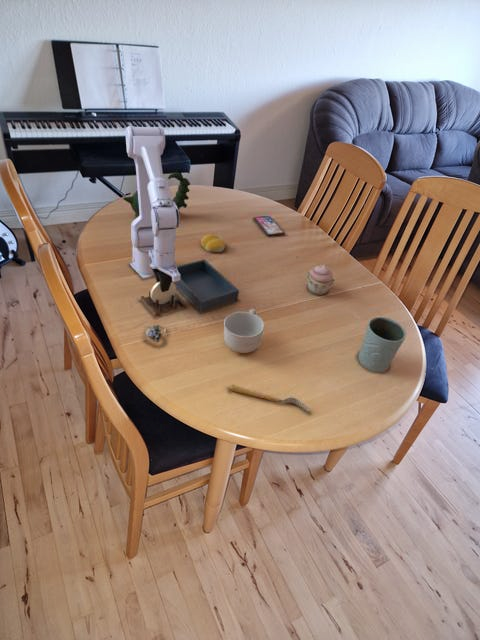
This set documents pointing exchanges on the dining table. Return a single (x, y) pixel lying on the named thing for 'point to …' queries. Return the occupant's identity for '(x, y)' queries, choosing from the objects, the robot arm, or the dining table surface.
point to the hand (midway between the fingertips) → (163, 289)
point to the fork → (267, 396)
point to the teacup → (243, 331)
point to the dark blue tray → (205, 285)
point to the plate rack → (163, 308)
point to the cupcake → (320, 279)
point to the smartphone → (268, 226)
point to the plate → (162, 293)
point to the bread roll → (213, 243)
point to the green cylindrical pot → (381, 343)
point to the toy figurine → (177, 199)
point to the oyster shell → (154, 332)
